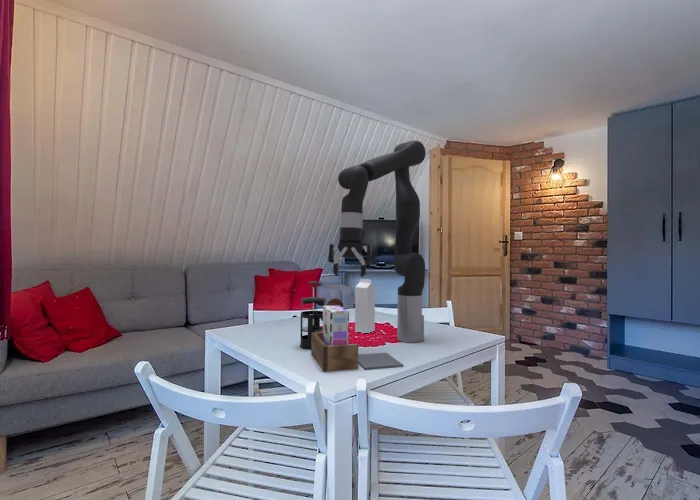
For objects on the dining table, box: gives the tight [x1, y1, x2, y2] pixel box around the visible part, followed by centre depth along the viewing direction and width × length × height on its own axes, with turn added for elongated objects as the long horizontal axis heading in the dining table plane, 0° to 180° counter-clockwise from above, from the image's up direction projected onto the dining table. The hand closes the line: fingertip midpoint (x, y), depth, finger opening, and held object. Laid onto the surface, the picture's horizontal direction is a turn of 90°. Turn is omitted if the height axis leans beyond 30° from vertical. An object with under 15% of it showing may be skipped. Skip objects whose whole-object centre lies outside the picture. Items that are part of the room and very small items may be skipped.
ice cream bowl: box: [320, 297, 344, 322], centre depth 156 cm, size 11×11×15 cm
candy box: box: [322, 305, 350, 346], centre depth 122 cm, size 14×6×16 cm, turn 13°
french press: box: [299, 280, 327, 351], centre depth 140 cm, size 12×9×23 cm
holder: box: [310, 331, 359, 373], centre depth 122 cm, size 10×19×7 cm, turn 16°
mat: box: [358, 352, 404, 371], centre depth 121 cm, size 12×14×1 cm
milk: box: [354, 278, 376, 334], centre depth 164 cm, size 6×6×22 cm
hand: (349, 276), depth 130 cm, fingers open, 8 cm apart
